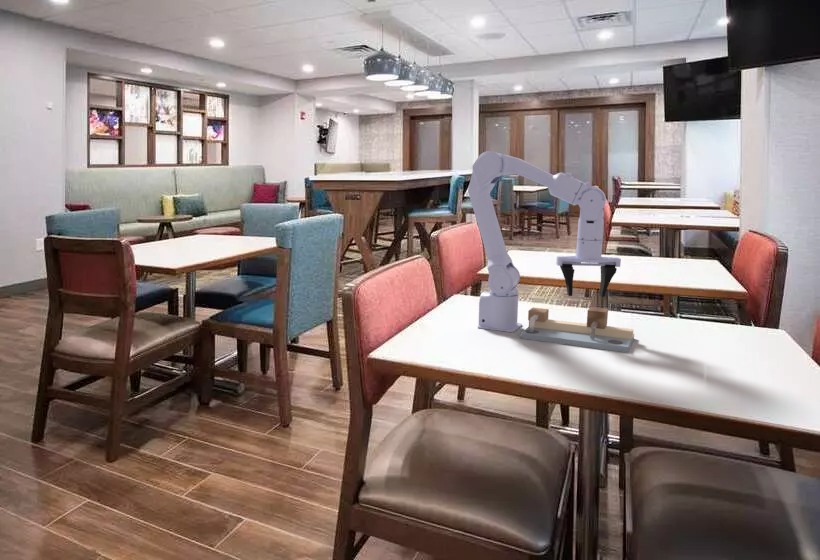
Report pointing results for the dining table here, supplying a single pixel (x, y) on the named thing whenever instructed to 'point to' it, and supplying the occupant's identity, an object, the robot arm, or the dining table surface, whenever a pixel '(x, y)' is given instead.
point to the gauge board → (575, 333)
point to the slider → (596, 319)
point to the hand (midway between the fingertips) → (585, 295)
